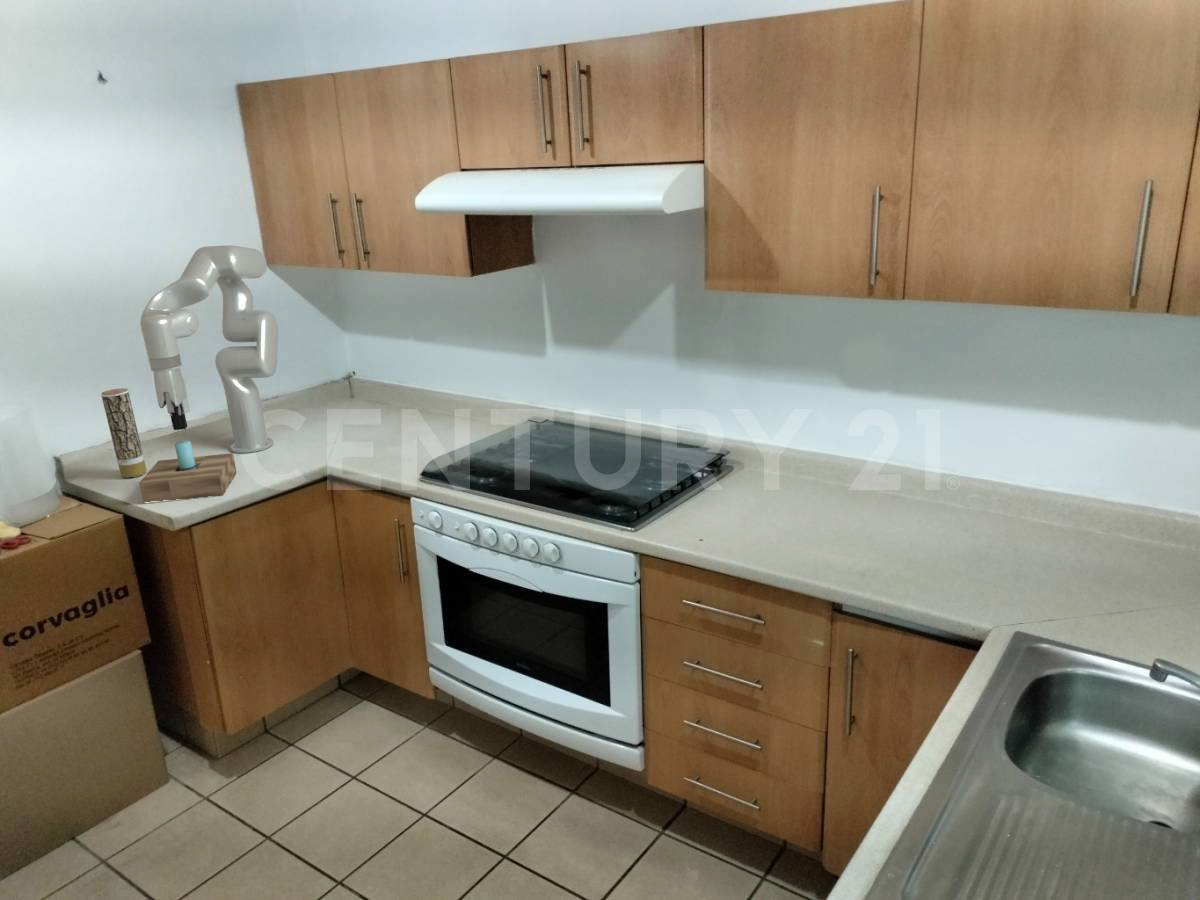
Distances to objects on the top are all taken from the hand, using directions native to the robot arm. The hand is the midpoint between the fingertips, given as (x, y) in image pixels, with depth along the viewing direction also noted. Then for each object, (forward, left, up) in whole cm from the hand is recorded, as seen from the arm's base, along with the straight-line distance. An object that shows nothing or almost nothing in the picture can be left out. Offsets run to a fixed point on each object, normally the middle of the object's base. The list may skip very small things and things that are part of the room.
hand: (180, 428), depth 243 cm
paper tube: (-16, -20, -17) cm, 31 cm away
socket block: (+1, 0, -17) cm, 17 cm away
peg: (+1, 0, -16) cm, 16 cm away
